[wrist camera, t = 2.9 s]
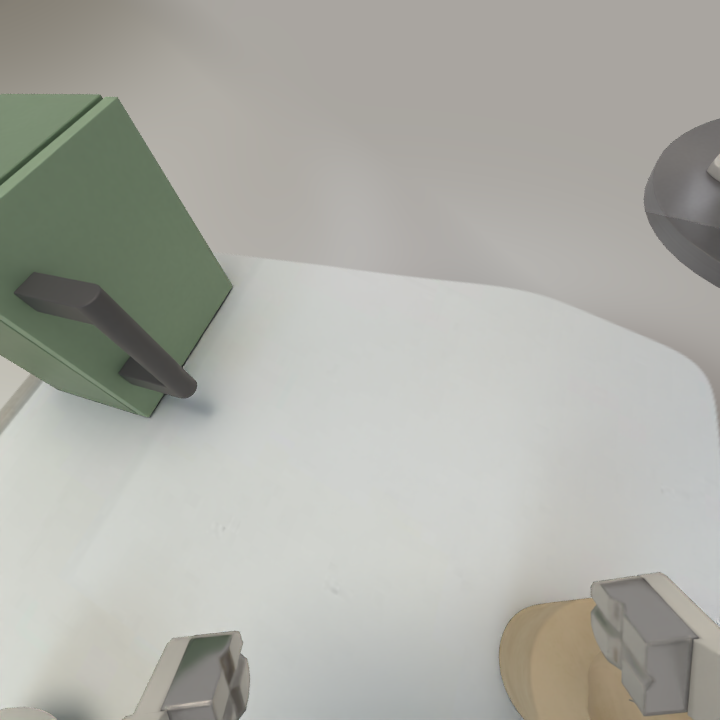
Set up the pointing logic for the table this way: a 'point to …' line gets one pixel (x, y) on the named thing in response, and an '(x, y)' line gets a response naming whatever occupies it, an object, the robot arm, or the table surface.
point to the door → (107, 261)
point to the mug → (25, 714)
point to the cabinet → (3, 159)
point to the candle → (563, 667)
